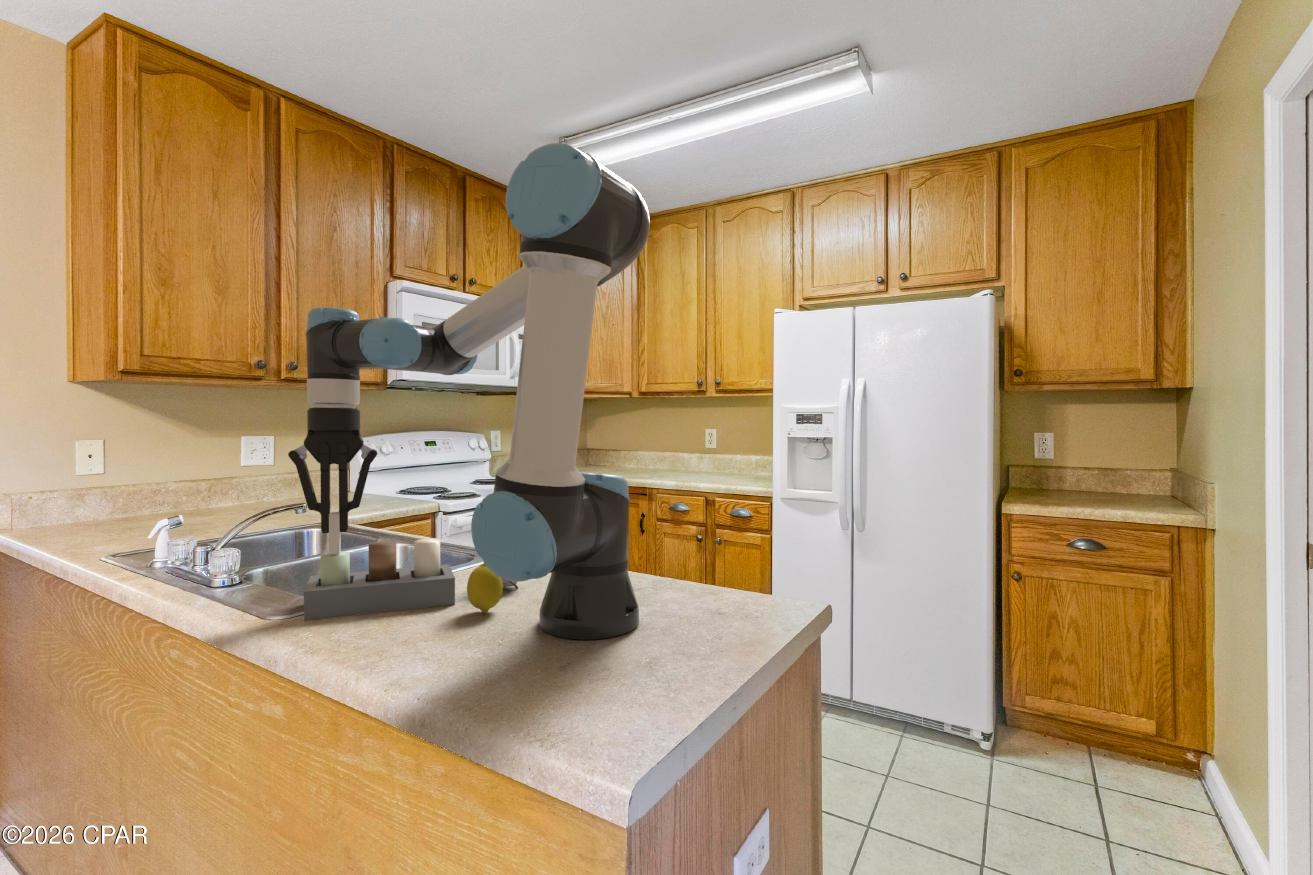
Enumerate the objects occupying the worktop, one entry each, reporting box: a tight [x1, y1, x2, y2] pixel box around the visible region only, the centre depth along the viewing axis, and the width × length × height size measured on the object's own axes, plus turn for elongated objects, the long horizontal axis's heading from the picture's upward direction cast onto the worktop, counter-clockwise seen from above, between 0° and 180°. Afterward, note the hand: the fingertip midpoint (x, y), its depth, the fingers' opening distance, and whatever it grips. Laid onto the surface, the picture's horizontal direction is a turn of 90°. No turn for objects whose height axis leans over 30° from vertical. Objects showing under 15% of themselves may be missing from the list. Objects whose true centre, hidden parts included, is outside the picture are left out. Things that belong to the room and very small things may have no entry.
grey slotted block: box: [303, 563, 456, 622], centre depth 104 cm, size 10×22×4 cm, turn 114°
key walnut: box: [368, 541, 397, 582], centre depth 104 cm, size 4×4×7 cm
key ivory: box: [413, 538, 441, 578], centre depth 107 cm, size 4×4×7 cm
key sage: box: [320, 550, 351, 586], centre depth 101 cm, size 4×4×7 cm
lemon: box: [466, 562, 504, 614], centre depth 100 cm, size 6×6×8 cm
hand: (334, 552), depth 101 cm, fingers closed
